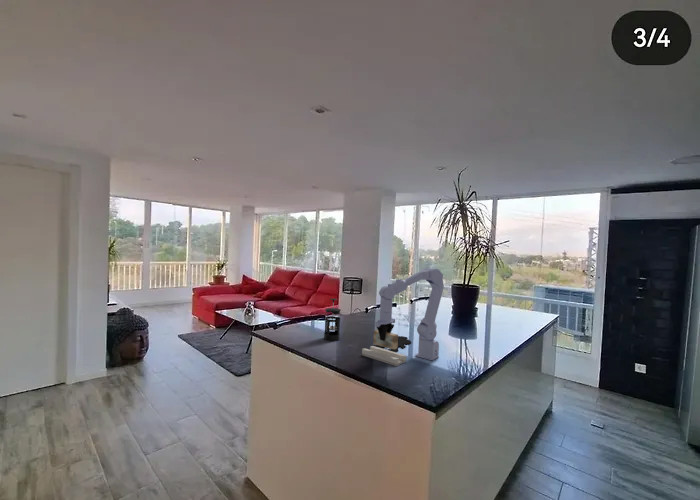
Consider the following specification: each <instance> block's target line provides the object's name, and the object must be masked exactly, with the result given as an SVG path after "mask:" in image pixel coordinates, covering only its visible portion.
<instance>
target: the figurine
mask: <svg viewBox="0 0 700 500" xmlns="http://www.w3.org/2000/svg"><path fill="white" fill-rule="evenodd" d="M411 344H412V341H411V340H410V339H409V338H408V337H406V336H403V335H401V336H400V335H398V347H397V349H390V348H387V350H389V351H392V352H396V353H398V352H399V349H402V350H404V349H406V348H407V346H409V345H411ZM372 346H375V347H379V348H382V349H385V348H386V347H383V346H379V345H376V344H373V345H372Z"/></svg>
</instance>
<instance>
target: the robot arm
mask: <svg viewBox="0 0 700 500" xmlns="http://www.w3.org/2000/svg"><path fill="white" fill-rule="evenodd" d="M443 277H444V274H443V273H442V272H441V270H440V269H438V268H431V267H425V268H422V269H420V270H419V271H417V272H415V273H414V274H412V275H410V276H409V277H407V278H405V279H402V278H400V279H399V278H397V279H396V280H395V281H394V282H391V283H388V284H387V285H385V286H381V288H380V290H379V291H378V295H379V296H380V304H379V318H378V319H377V321H375V322H374V326H375V327H376V330H378V332H379V335H380V340H383V341H385V336H386V332H389V333H392V331H393V329H394V328H395V323H396V318H393V316H392V315H393V299H394V298H395V296H396V295H398V294H400V293H402V292H404V291H407V288H408V286H411V285H412V284H415V283H416V282H419V281H421V280H422V281H423V280H424V281H426V282H428V283H429V286H430V287H431V290H430V294H429V299H428V301H427V305H426V309H425V313H424V317H423V318H422V319H421V320H420V323H419V324H418V325H417V327H416V332H417V333H418V351H417V353H416V354H414V356H415V357H418V358H422V359H425V360H428V361H434V360H436V359H438V358H440V356H439V350H440V343H439V341H438V340H435V338H436V337H437V323H436V318H437V315H438V311H439V307H440V305H441V304H440V302H441V299H442V295H443V293H444V287H445V285H444V280H443Z"/></svg>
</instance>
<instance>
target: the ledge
mask: <svg viewBox="0 0 700 500" xmlns="http://www.w3.org/2000/svg"><path fill="white" fill-rule="evenodd" d="M361 349H362V350H361V356H363V357H367V358H369V359H373V360H375V361H379V362H381V363H382V362H383V363H385V364H388V365H391V366H393V367H394V366H395V367H397V366H400V365H402V364H404V363H406V362H407V355H405V354H402V353H398V352H392V351H389V350H388V349H385V348H379V347H375V346H373V345H371V346H370V347H369V349H368V348H361Z"/></svg>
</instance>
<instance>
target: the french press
mask: <svg viewBox="0 0 700 500" xmlns="http://www.w3.org/2000/svg"><path fill="white" fill-rule="evenodd" d="M329 300H330V301H332V307H329V308H325V309H324V310H325V313H326V314H327V313H332V315H331V316H330V315H329V316H325V317H324V333H323V340H324V341H327V342H337V341H340V339H341V338H340V336H341V334H340V328H341V326H340V325H341V317H339V316H336V315H340V314H341V311H342V310H341V309H340V308H337V307H334V304H335V301H337V300H338V299H337V298H329ZM334 315H335V316H334Z"/></svg>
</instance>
